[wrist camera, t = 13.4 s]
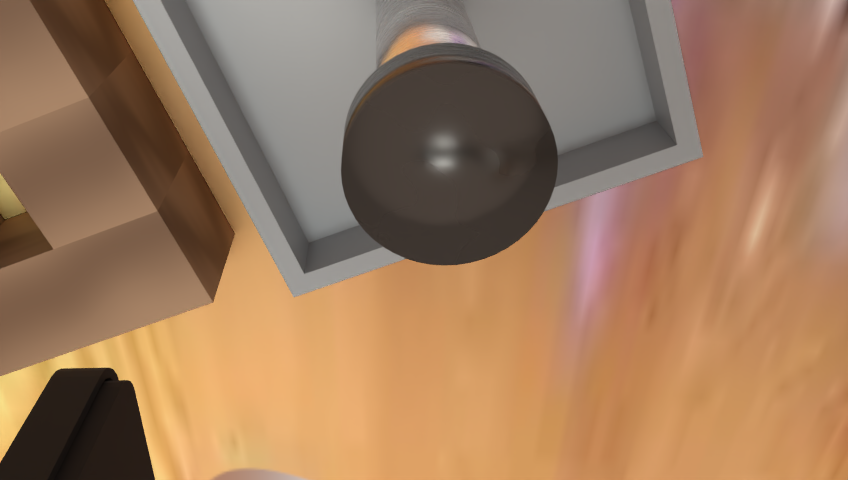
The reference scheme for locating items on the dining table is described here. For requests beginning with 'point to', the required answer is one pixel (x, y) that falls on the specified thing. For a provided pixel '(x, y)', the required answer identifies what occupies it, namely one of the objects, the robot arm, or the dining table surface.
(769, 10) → the dining table surface
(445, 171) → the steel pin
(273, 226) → the grey tray
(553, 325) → the dining table surface
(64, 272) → the walnut block
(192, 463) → the dining table surface
